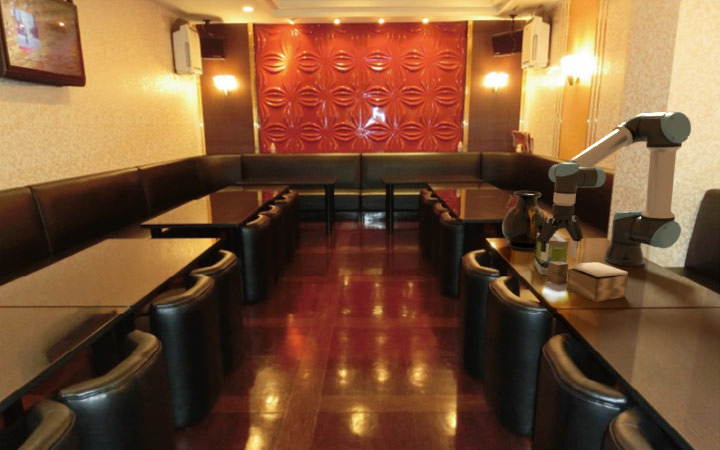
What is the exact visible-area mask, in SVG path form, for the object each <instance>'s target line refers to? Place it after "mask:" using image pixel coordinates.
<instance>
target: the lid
mask: <svg viewBox="0 0 720 450" xmlns="http://www.w3.org/2000/svg"><path fill="white" fill-rule="evenodd" d="M569 267H570V268H571V269H574V268H575V269H578V270H580V271H583V272H586V273H589V274H591V275H594V276H597V277H600V276H613V275H628V271H626V270H624V269H623V270H622V269H620V268H616V267H613V266H610V265H608V264H605V263H601V262H598V261H596V262H595V261H593V262H580V263H579V262H577V263H568V268H569Z"/></svg>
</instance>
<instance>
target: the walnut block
mask: <svg viewBox="0 0 720 450" xmlns="http://www.w3.org/2000/svg"><path fill="white" fill-rule="evenodd" d="M568 264H569V263H568V262H566V263H565V262H562V261H560V260H557V261H549V263H548V275H546V276H547V278H546V282H548V283H551V284H553V285H556V286H559V285H565V284H566V285H567V278H568V269H569V266H568Z"/></svg>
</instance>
